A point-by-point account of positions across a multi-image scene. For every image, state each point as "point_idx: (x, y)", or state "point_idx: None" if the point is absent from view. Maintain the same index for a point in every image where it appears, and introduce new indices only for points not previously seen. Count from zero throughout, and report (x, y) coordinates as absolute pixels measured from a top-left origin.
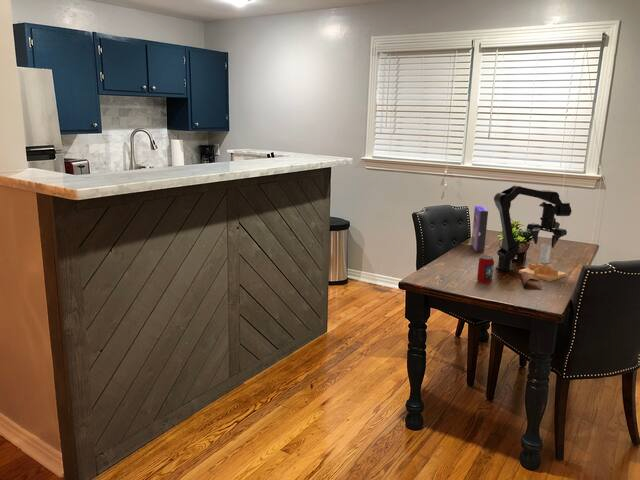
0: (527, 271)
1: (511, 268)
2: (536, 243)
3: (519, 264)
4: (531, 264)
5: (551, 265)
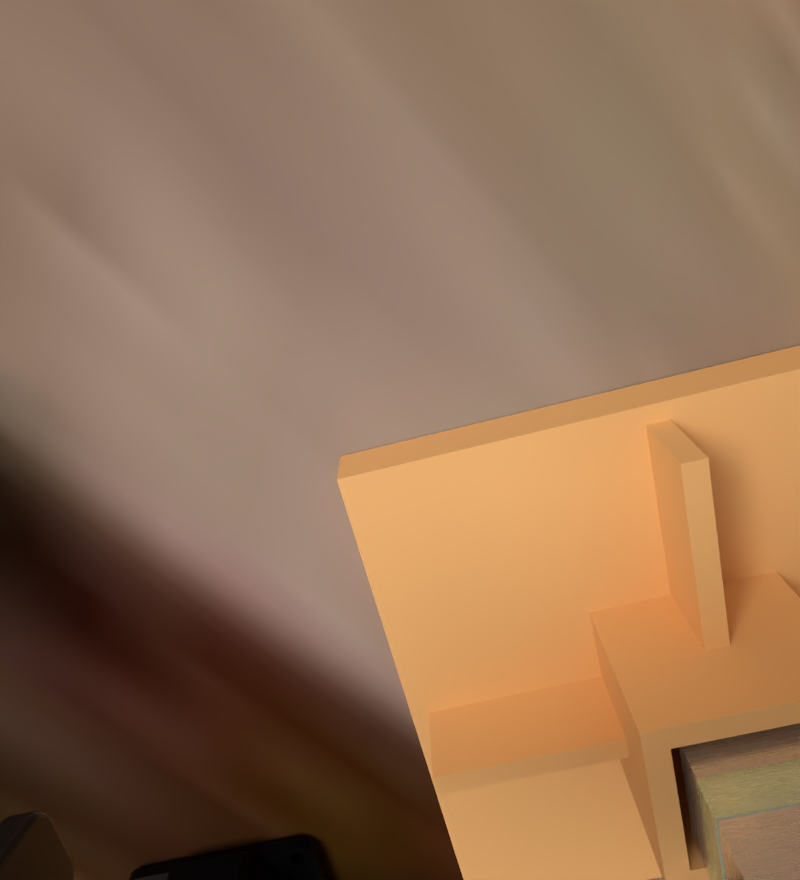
0: (575, 856)
1: (286, 865)
2: (45, 858)
3: (28, 548)
4: (487, 781)
5: (707, 475)
